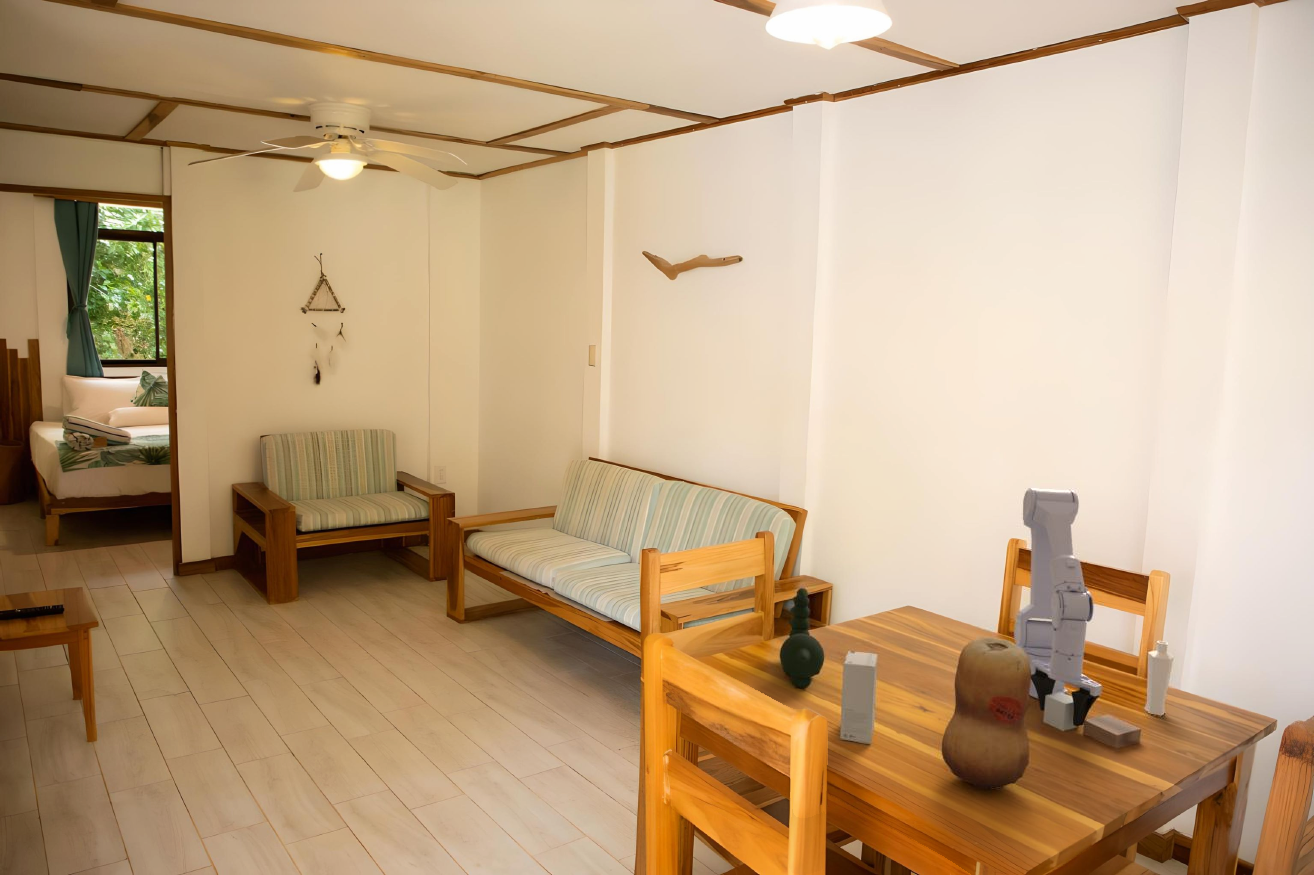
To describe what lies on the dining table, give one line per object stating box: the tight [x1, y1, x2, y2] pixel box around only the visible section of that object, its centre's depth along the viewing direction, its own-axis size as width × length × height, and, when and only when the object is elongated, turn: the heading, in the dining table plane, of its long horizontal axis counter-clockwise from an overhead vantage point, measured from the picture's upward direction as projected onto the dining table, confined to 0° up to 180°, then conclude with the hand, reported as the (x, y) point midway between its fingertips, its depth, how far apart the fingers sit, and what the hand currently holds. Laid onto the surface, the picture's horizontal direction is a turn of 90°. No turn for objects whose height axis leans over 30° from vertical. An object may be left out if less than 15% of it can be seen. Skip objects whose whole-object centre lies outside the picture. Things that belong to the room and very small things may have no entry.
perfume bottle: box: [1144, 640, 1174, 715], centre depth 183 cm, size 5×4×15 cm
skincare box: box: [839, 650, 878, 745], centre depth 168 cm, size 8×6×15 cm
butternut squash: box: [941, 636, 1031, 790], centre depth 149 cm, size 14×13×25 cm
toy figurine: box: [779, 587, 825, 689], centre depth 195 cm, size 9×19×25 cm
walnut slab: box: [1082, 714, 1142, 750], centre depth 171 cm, size 7×7×3 cm
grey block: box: [1042, 692, 1079, 732], centre depth 176 cm, size 4×4×6 cm
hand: (1061, 717), depth 176 cm, fingers open, 7 cm apart
